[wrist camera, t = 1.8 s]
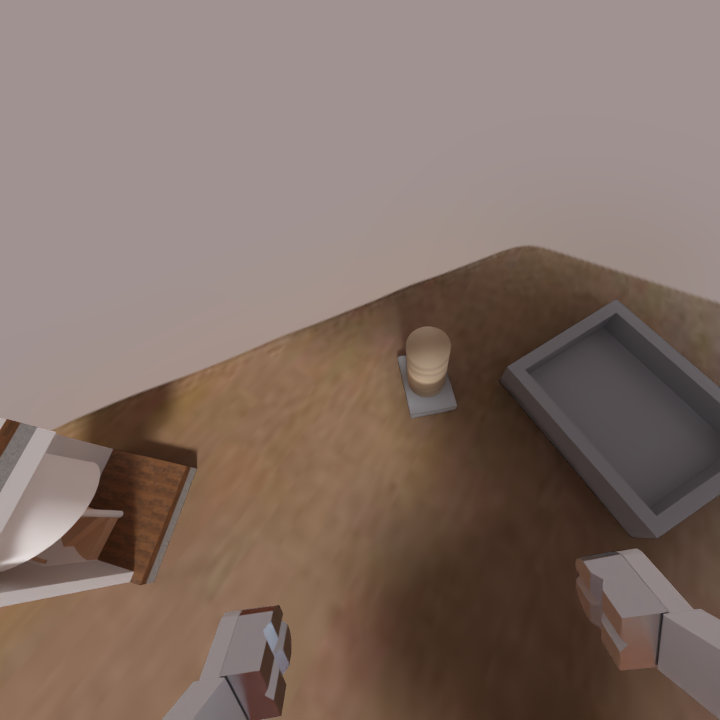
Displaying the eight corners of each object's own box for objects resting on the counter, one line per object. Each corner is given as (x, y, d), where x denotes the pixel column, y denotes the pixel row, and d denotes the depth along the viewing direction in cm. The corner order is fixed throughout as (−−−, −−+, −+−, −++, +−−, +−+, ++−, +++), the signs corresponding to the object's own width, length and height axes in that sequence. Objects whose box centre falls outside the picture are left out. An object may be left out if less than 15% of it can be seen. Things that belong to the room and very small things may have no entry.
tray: (748, 454, 34) (787, 445, 30) (631, 537, 33) (657, 538, 29) (599, 318, 42) (616, 298, 38) (499, 380, 40) (507, 366, 37)
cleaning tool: (455, 409, 40) (466, 375, 31) (410, 418, 40) (408, 387, 31) (439, 353, 43) (445, 307, 34) (398, 362, 43) (392, 318, 34)
